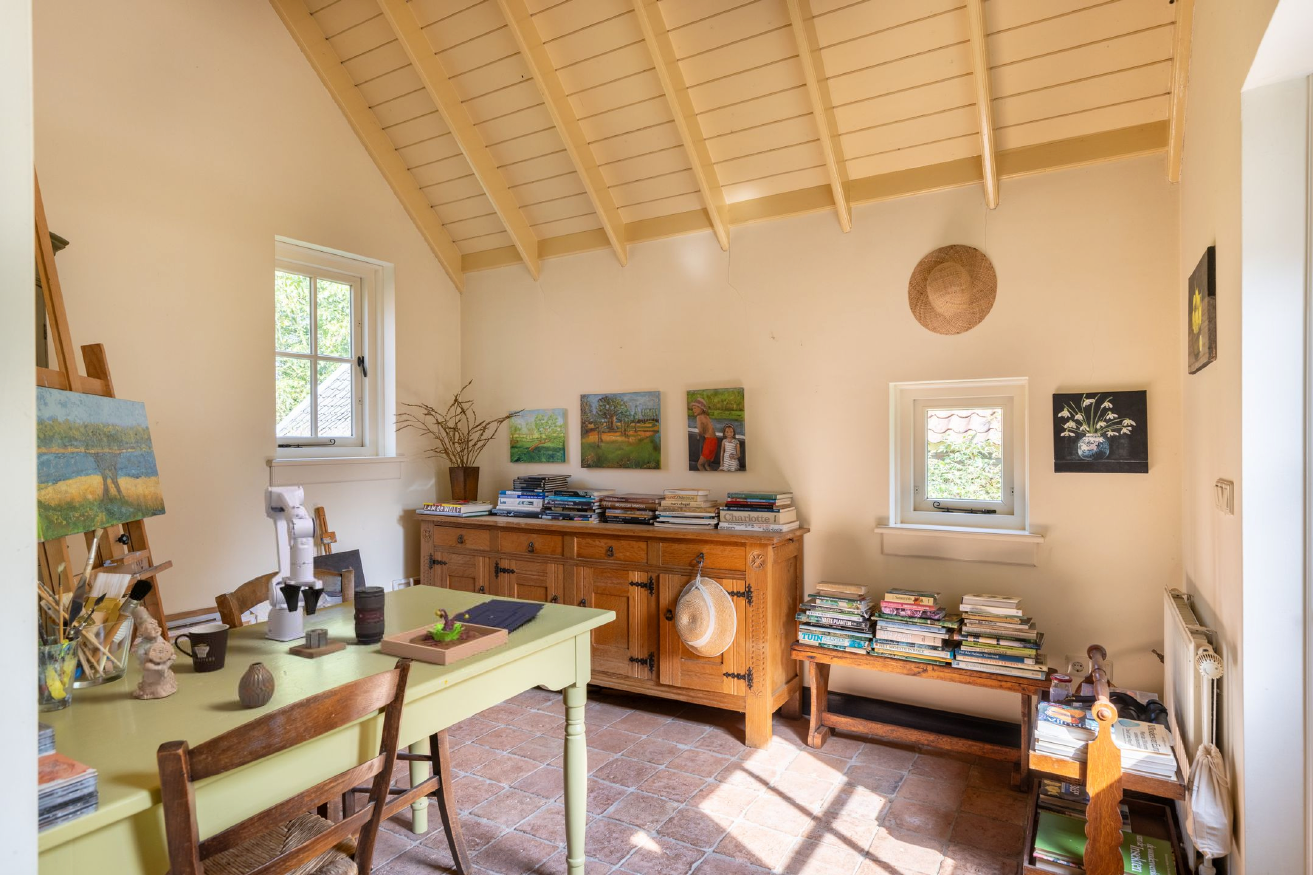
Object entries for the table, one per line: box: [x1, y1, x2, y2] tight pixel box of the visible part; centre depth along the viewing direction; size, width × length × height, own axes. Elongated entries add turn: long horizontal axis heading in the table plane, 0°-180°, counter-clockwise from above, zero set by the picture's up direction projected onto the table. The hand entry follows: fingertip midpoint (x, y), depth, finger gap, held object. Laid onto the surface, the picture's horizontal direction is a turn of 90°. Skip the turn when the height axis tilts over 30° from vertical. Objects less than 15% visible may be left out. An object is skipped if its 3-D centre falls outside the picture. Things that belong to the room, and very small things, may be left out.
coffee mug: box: [174, 623, 230, 674], centre depth 181 cm, size 12×9×10 cm
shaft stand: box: [288, 630, 347, 659], centre depth 195 cm, size 10×10×6 cm
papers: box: [449, 598, 547, 634], centre depth 224 cm, size 24×30×4 cm
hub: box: [304, 627, 329, 649], centre depth 195 cm, size 5×5×4 cm
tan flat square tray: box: [380, 620, 509, 666], centre depth 198 cm, size 24×24×4 cm
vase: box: [237, 661, 276, 709], centre depth 155 cm, size 7×7×9 cm
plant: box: [409, 608, 485, 650], centre depth 198 cm, size 20×20×11 cm
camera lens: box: [353, 585, 386, 646], centre depth 204 cm, size 8×8×15 cm
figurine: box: [130, 606, 179, 700], centre depth 162 cm, size 9×8×20 cm
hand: (301, 613), depth 195 cm, fingers open, 7 cm apart
